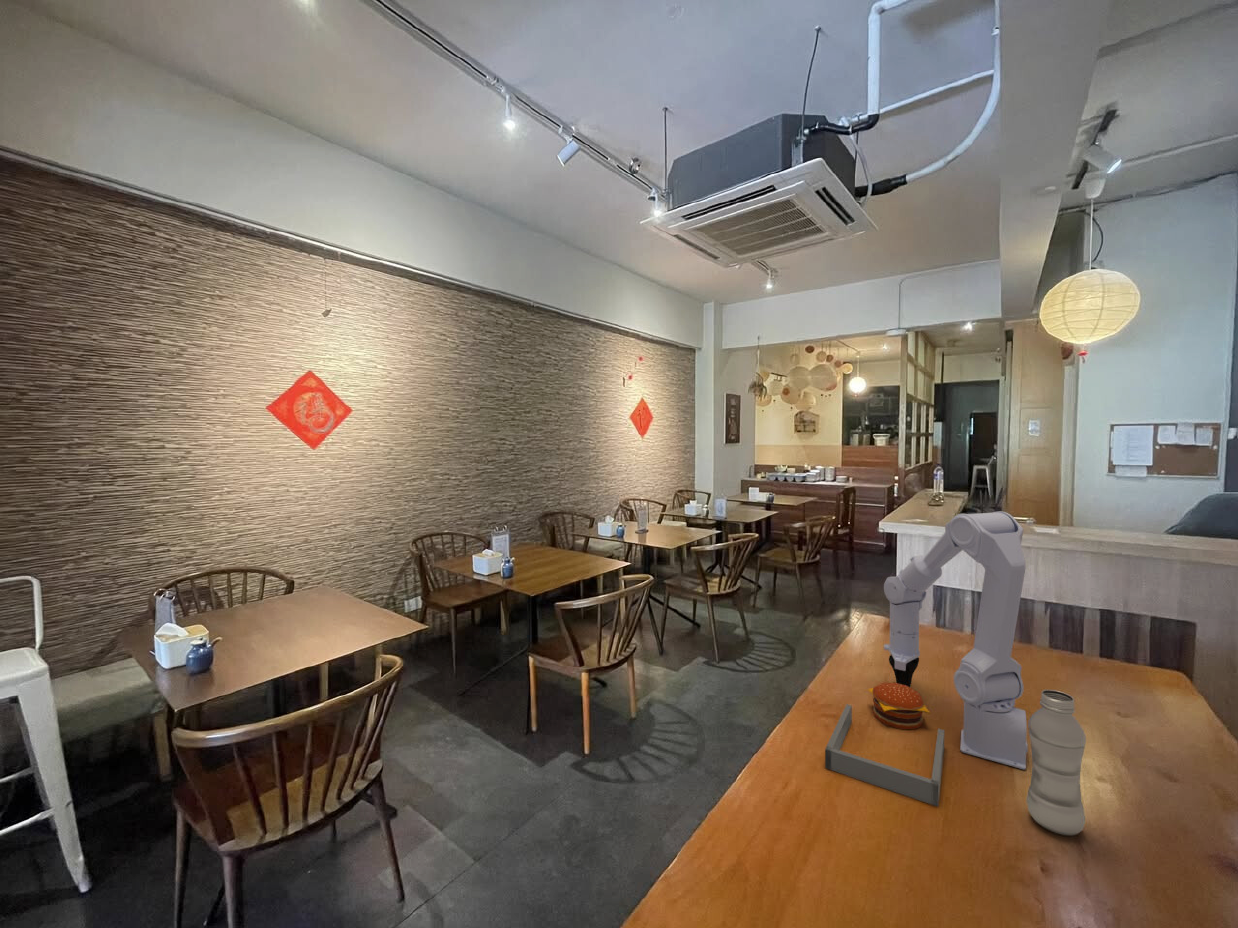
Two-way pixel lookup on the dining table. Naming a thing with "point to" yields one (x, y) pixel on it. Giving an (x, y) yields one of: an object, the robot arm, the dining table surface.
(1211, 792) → the dining table surface
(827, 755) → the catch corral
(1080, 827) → the plastic bottle
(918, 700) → the hamburger
